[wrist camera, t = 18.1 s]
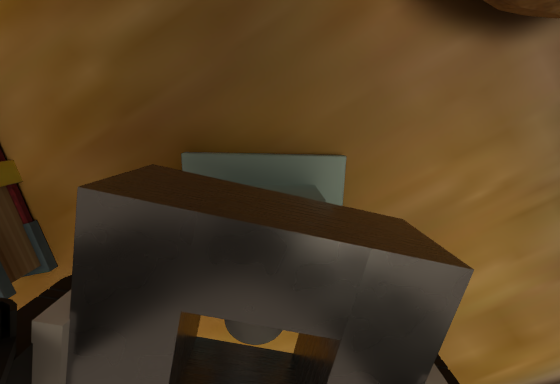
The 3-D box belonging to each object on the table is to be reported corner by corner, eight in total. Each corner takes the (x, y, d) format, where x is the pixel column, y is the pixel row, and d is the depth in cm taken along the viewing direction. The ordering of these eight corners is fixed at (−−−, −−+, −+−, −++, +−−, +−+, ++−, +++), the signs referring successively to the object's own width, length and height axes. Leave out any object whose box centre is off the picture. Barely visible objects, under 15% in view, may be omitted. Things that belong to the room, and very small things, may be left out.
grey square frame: (152, 164, 10) (77, 186, 6) (402, 219, 11) (473, 269, 7) (126, 376, 12) (58, 490, 8) (335, 410, 13) (361, 529, 9)
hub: (186, 152, 19) (93, 178, 9) (342, 155, 19) (412, 183, 9) (194, 291, 21) (128, 427, 12) (332, 292, 22) (379, 426, 12)
